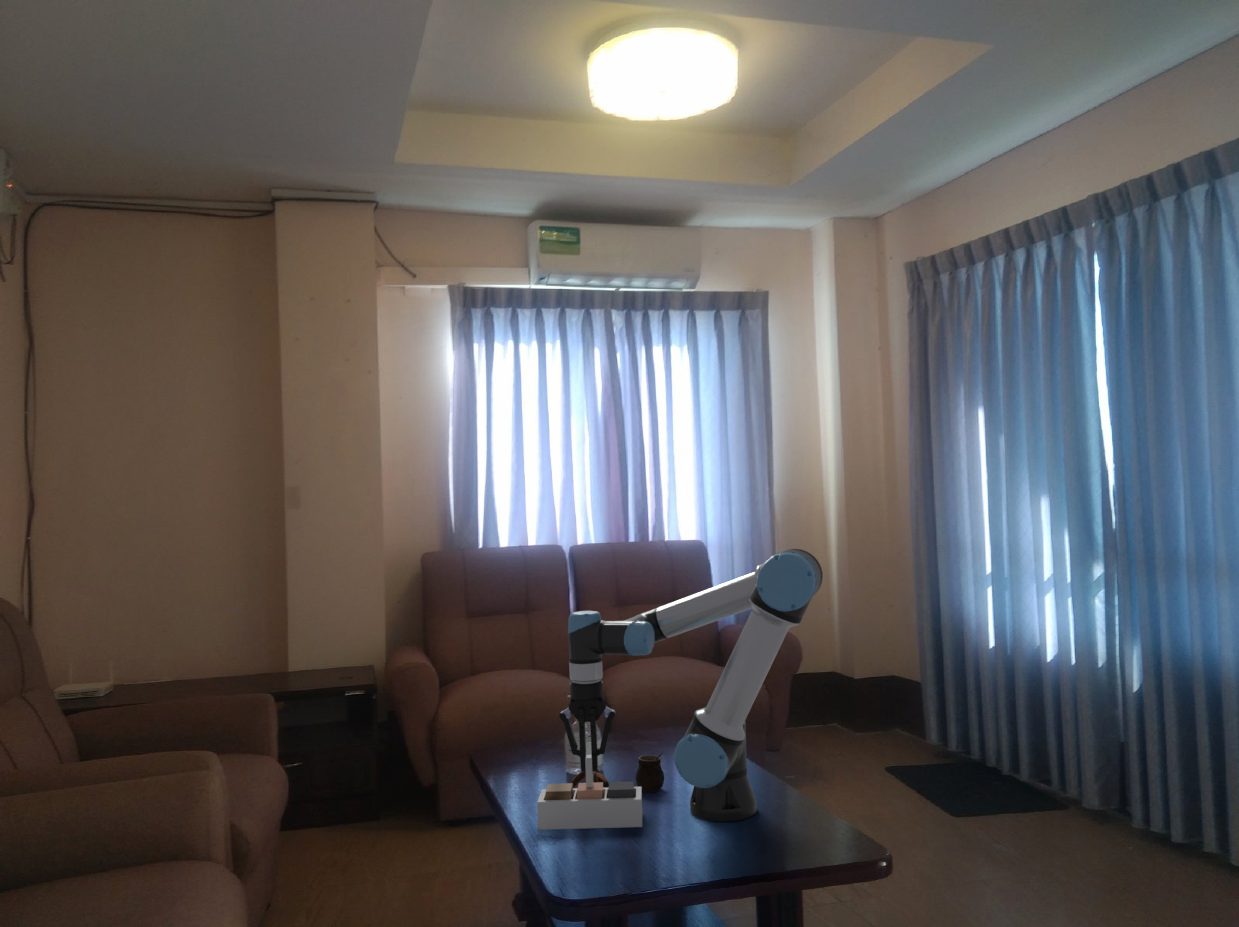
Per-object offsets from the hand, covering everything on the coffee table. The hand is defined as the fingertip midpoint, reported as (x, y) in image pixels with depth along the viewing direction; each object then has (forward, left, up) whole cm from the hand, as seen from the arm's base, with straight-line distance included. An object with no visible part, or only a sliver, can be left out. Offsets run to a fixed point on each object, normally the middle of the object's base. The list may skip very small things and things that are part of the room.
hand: (589, 785), depth 206 cm
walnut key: (+6, +4, -5) cm, 9 cm away
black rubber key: (-6, -4, -5) cm, 9 cm away
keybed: (0, 0, -8) cm, 8 cm away
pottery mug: (+9, -13, -8) cm, 18 cm away
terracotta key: (0, 0, -5) cm, 5 cm away
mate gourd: (+1, -25, -8) cm, 26 cm away
